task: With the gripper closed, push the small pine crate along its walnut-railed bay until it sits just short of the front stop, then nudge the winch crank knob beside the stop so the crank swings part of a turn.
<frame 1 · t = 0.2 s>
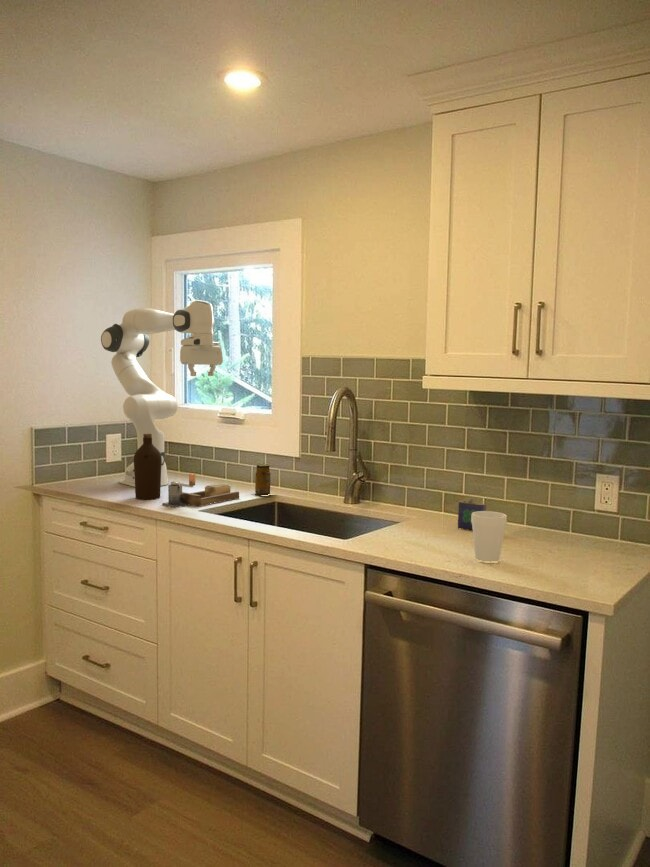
hand: (202, 376, 291), 47 cm above the table, tool pointing down, fingers open, 8 cm apart
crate: (217, 498, 284), resting in bay
winch post: (175, 505, 269), on the table
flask: (470, 530, 238), on the table
crank: (183, 479, 266), point 10 cm above the table, hinge at 0.0°
olive oil: (148, 498, 283), on the table
condiment: (263, 495, 294), on the table
foam cup: (487, 561, 200), on the table
bay: (209, 499, 281), on the table
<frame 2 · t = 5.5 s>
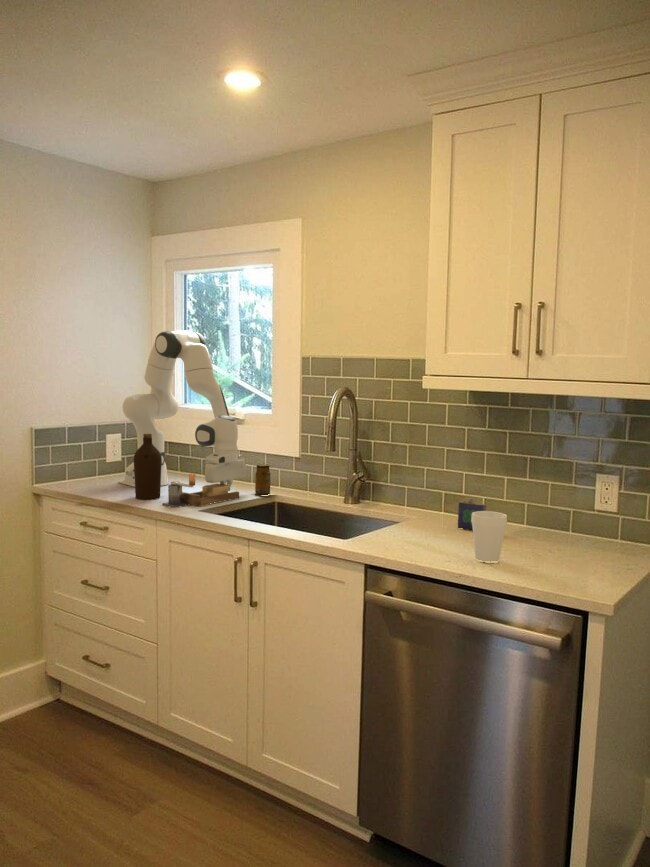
hand: (226, 491, 288), 2 cm above the table, tool pointing down, fingers closed
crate: (215, 498, 283), resting in bay, touching gripper
everything else where it was.
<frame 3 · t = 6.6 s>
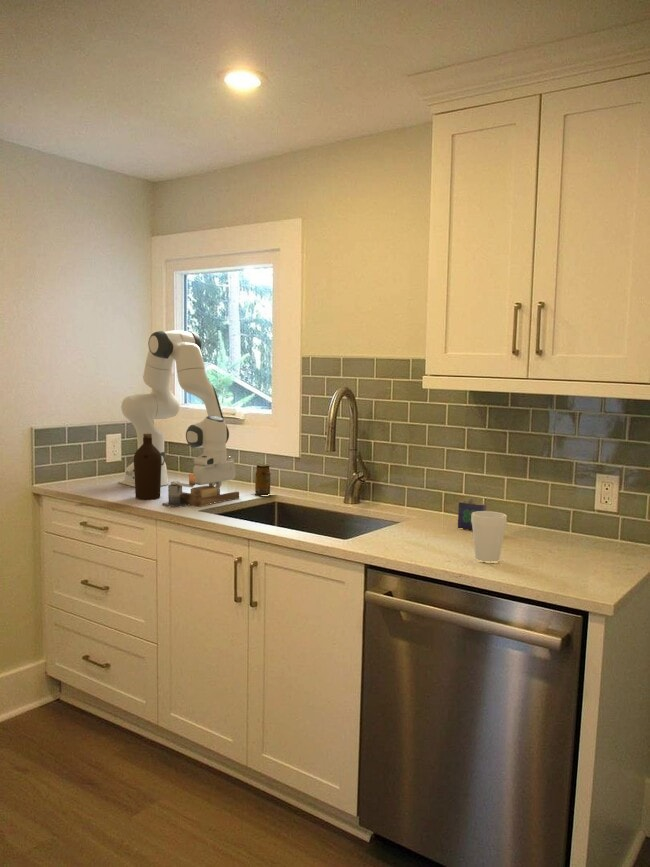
hand: (215, 493, 283), 2 cm above the table, tool pointing down, fingers closed
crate: (203, 501, 278), resting in bay, touching gripper
everything else where it was.
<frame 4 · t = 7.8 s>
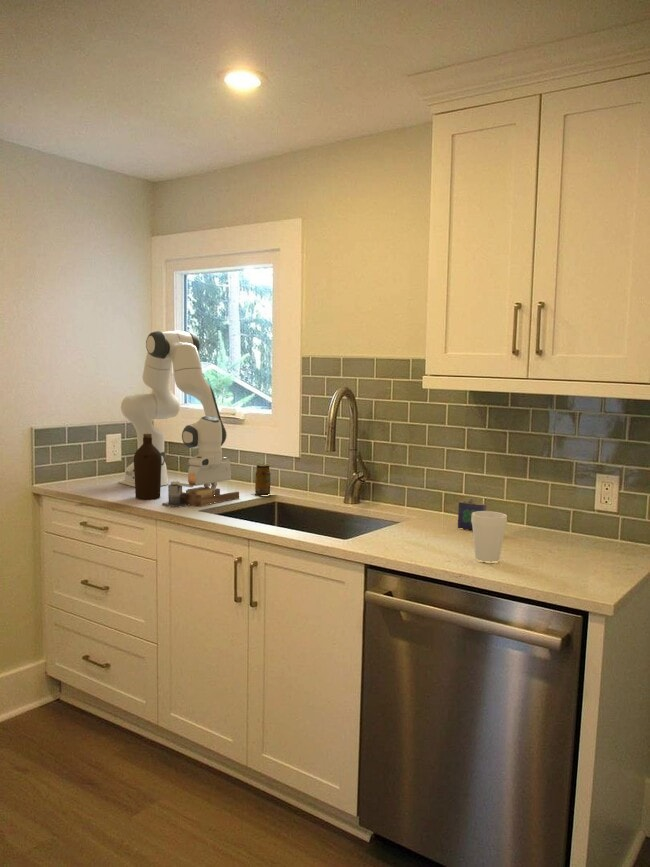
hand: (210, 494, 281), 2 cm above the table, tool pointing down, fingers closed
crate: (199, 502, 276), resting in bay
everything else where it was.
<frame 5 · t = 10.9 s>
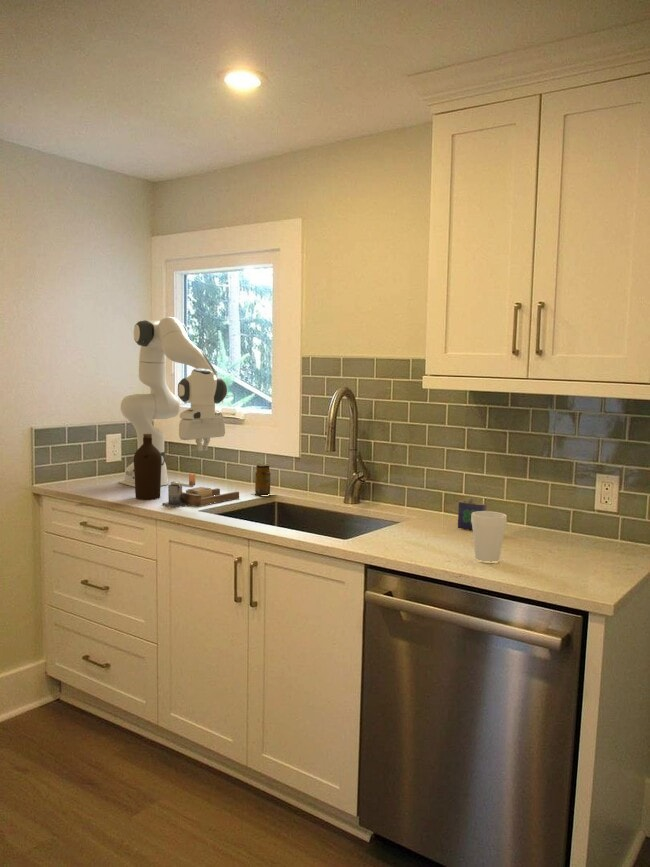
hand: (202, 450, 267), 21 cm above the table, tool pointing down, fingers closed
nothing on the table moved.
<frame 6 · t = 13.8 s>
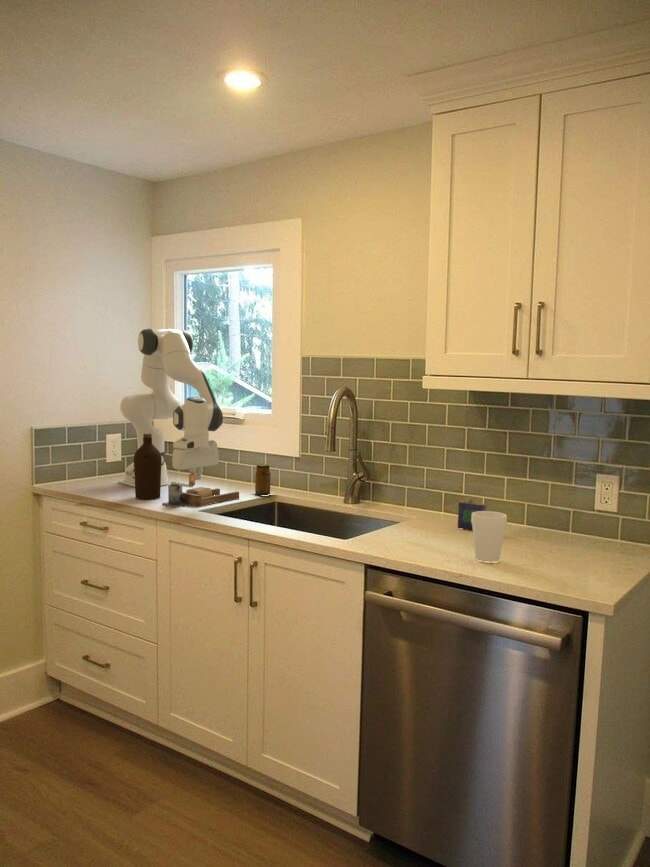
hand: (196, 479, 266), 10 cm above the table, tool pointing down, fingers closed
crank: (183, 479, 266), point 10 cm above the table, hinge at 0.7°, touching gripper
everything else where it was.
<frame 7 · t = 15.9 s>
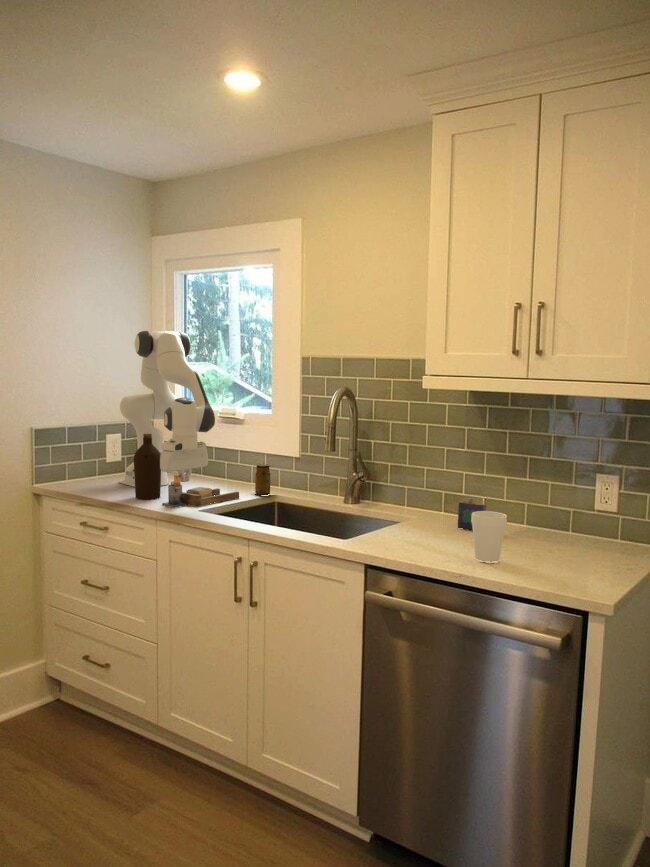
hand: (184, 481, 262), 10 cm above the table, tool pointing down, fingers closed
crank: (176, 480, 264), point 10 cm above the table, hinge at 37.2°, touching gripper
everything else where it was.
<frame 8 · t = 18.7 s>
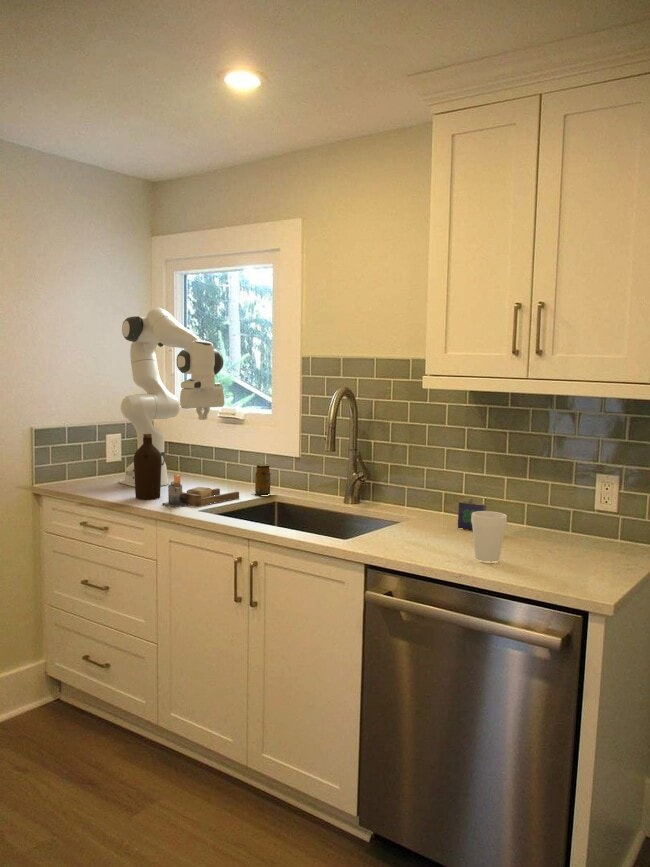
hand: (202, 419, 278), 31 cm above the table, tool pointing down, fingers closed
crank: (176, 480, 264), point 10 cm above the table, hinge at 37.2°
everything else where it was.
at the end: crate inside the target area (0.3 cm from its centre), resting in bay; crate tilted 0°; crank at +37° (first picture: +0°) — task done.
